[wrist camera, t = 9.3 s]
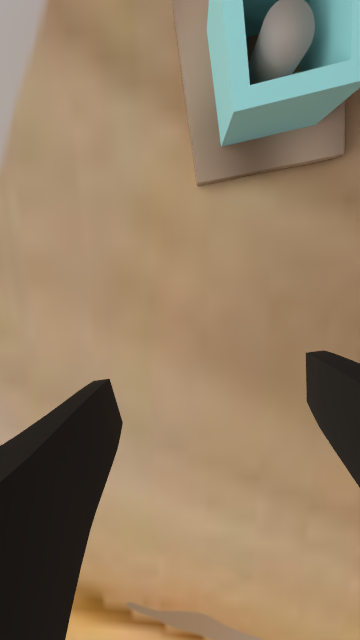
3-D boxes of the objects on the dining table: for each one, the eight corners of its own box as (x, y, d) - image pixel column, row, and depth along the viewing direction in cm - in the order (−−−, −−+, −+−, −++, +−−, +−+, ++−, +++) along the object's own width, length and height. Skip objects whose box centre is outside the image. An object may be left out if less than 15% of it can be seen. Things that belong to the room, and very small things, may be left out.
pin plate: (337, -30, 13) (411, -162, 8) (334, 158, 15) (390, 130, 11) (173, 14, 13) (165, -87, 9) (197, 185, 16) (199, 170, 12)
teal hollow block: (313, -1, 12) (377, -123, 8) (315, 124, 14) (371, 78, 10) (206, 29, 13) (214, -71, 8) (221, 146, 14) (233, 112, 10)
